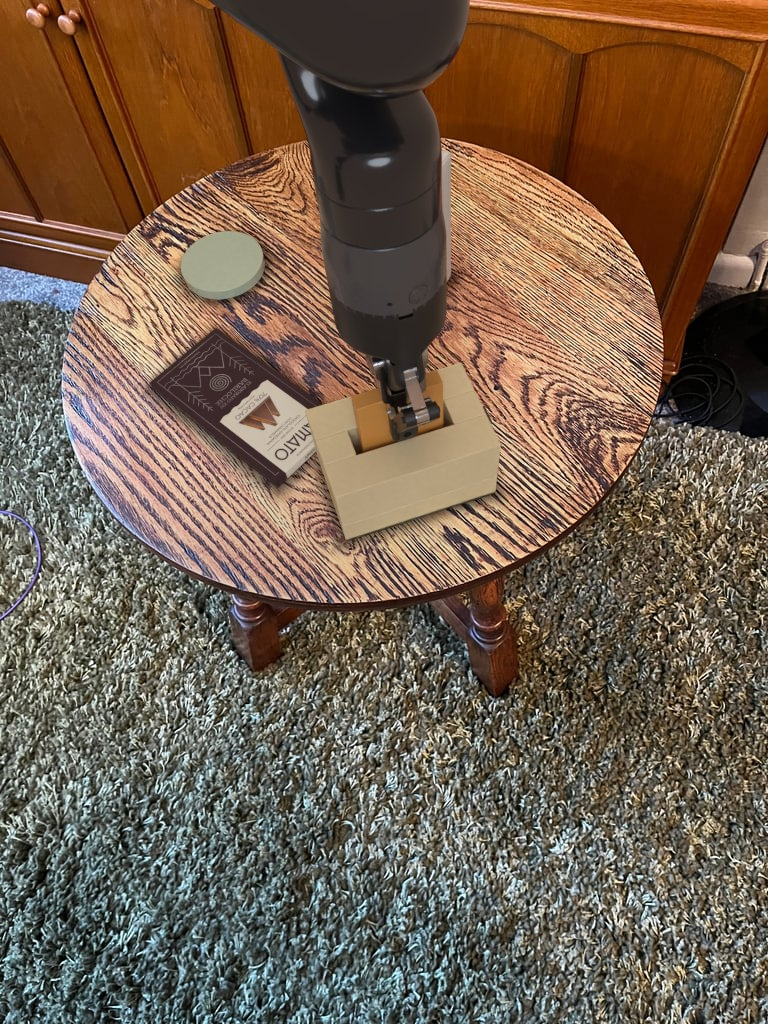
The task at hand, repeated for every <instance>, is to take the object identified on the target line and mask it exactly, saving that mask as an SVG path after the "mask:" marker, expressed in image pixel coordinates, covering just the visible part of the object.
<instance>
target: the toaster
mask: <svg viewBox="0 0 768 1024" xmlns="http://www.w3.org/2000/svg"><path fill="white" fill-rule="evenodd" d="M435 370H437V371H438V373H439V375H440V377H441V379H442V382H443V428H441V429H438V430H435V431H432V432H429V433H426V434H422V435H419V436H416V437H413V438H410V439H407V440H403V441H400V442H397V443H394V444H391V445H387V446H384V447H381V448H378V449H375V450H372V451H368V452H365V453H362V454H361V448H360V443H359V437H358V432H357V426H356V421H355V415H354V410H353V404H352V399H351V396H352V395H350V396H347V397H343V398H340V399H337V400H334V401H331V402H327V403H325V404H323V405H321V406H317V407H314V408H311V409H308V410H305V413H306V416H307V420H308V424H309V427H310V431H311V435H312V438H313V442H314V445H315V449H316V452H315V453H316V457H317V460H318V463H319V466H320V468H321V472H322V474H323V478H324V481H325V484H326V487H327V490H328V492H329V495H330V498H331V501H332V505H333V507H334V509H335V513H336V516H337V519H338V522H339V525H340V528H341V530H342V533H343V536H344V540H345V542H346V543H347V542H350V541H353V540H356V539H360V538H363V537H366V536H369V535H372V534H375V533H378V532H381V531H384V530H387V529H390V528H394V527H397V526H400V525H403V524H406V523H410V522H412V521H415V520H418V519H421V518H424V517H427V516H430V515H434V514H436V513H440V512H442V511H446V510H449V509H452V508H455V507H458V506H461V505H465V504H467V503H471V502H474V501H476V500H479V499H483V498H486V497H489V496H492V495H496V493H497V490H496V489H497V482H498V475H499V466H500V465H499V464H500V457H501V456H500V455H501V448H502V443H501V442H500V439H499V437H498V435H497V434H496V432H495V429H494V427H493V420H492V418H491V416H490V414H489V412H488V409H487V408H486V406H485V405H482V402H481V400H480V399H479V396H478V393H477V392H476V391H475V388H474V386H473V384H472V382H471V380H470V378H469V376H468V373H467V372H466V369H465V367H464V365H463V363H462V362H457V363H454V364H450V365H447V366H445V367H441V368H438V369H435ZM435 370H433V371H435ZM370 390H371V389H370ZM370 390H368V391H370ZM357 394H358V393H356V394H355V395H357Z"/></svg>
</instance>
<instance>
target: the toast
mask: <svg viewBox="0 0 768 1024" xmlns="http://www.w3.org/2000/svg"><path fill="white" fill-rule="evenodd" d="M437 370H438V369H435V371H434V370H431V371H428V372H426V390H425V392H423V393H422V394H423V398H427V397H431V398H432V402H433V401H436V403H437V405H439V407H440V411H441V412H440V418H439V419H437V420H435V421H433V422H431V423H429V424H426V425H420V426H418V433H417V434H416V436H419V435H422V434H426V433H429V432H432V431H435V430H438V429H441V428H443V382H442V379H441V377H440V375H439V373H438V371H437ZM356 394H357V395H356ZM356 394H354V395H350V396H351V399H352V404H353V410H354V415H355V421H356V426H357V432H358V437H359V443H360V448H361V454H362V453H365V452H368V451H372V450H375V449H378V448H381V447H384V446H387V445H391V444H394V443H397V442H400V441H399V440H393V439H392V436H391V434H390V428H389V420H388V415H387V413H386V409H387V407H386V404H384V403H383V402H382V399H381V397H380V394H379V392H378V389H377V387H376V388H373V389H370V391H369V390H367V391H363V392H359V393H356ZM416 436H414V437H416ZM411 438H413V437H411ZM408 439H410V438H408ZM404 440H407V439H404ZM401 441H403V440H401Z"/></svg>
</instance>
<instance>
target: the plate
mask: <svg viewBox="0 0 768 1024" xmlns="http://www.w3.org/2000/svg"><path fill="white" fill-rule="evenodd" d="M264 255H265V254H264V252H263V249H262V247H261V245H260V243H259V242H258V241H257V239H255V238H254V237H252V236H250V235H249V234H247V233H244V232H241V231H235V230H225V231H217V232H213V233H209V234H207V235H204V236H202V237H201V238H199V239H197V240H196V241H194V242H193V243H192V244H191V245H190V246H189V247H188V248H187V249H186V251H185V252H184V254H183V256H182V258H181V261H180V271H181V275H182V277H183V280H184V282H185V284H186V286H187V288H188V289H189V290H190V291H191V292H192V293H194V294H195V295H197V296H199V297H202V298H205V299H209V300H226V299H227V300H228V299H232V298H235V297H239V296H241V295H243V294H245V293H246V292H249V291H250V290H251V289H253V288H254V287H255V286H256V285H257V284H258V283H259V282H260V280H261V278H262V277H263V275H264V272H265V269H266V260H265V256H264Z"/></svg>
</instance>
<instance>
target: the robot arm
mask: <svg viewBox="0 0 768 1024" xmlns="http://www.w3.org/2000/svg"><path fill="white" fill-rule="evenodd" d="M207 1H208V2H209V3H211V4H212V5H214V6H215V7H217V9H219V10H221V11H222V12H223V13H224V14H226V15H227V16H229V17H230V18H231V19H232V20H233V21H235V22H237V23H238V24H239V25H240V26H242V27H243V28H245V29H246V30H248V31H249V32H250V33H252V34H253V35H255V36H256V37H258V38H259V39H260V40H262V41H264V43H267V44H268V46H270V47H272V48H273V49H275V50H276V52H277V54H278V58H279V61H280V65H281V67H282V70H283V73H284V76H285V80H286V83H287V86H288V89H289V92H290V93H291V97H292V100H293V102H294V105H295V108H296V110H297V113H298V116H299V119H300V121H301V124H302V127H303V131H304V134H305V137H306V140H307V144H308V145H307V146H308V149H309V158H310V159H309V160H310V167H311V174H312V179H313V185H314V191H315V197H316V201H317V207H318V213H319V223H320V248H321V255H322V261H323V266H324V272H325V277H326V283H327V287H328V294H329V299H330V304H331V308H332V309H331V310H332V315H333V319H334V325H335V328H336V330H337V333H338V334H339V336H340V338H341V339H342V340H343V341H344V343H346V344H347V346H349V347H350V348H351V349H352V350H355V352H358V353H360V354H362V355H364V356H365V362H366V365H367V367H368V370H369V373H370V375H371V376H373V377H374V379H373V383H374V386H375V387H376V388H377V389H378V392H379V394H380V397H381V399H382V402H383V403H384V404H386V407H387V409H386V413H387V415H388V420H389V428H390V434H391V436H392V439H393V440H399V441H401V440H404V439H408V438H411V437H414V436H416V434H417V433H418V426H420V425H426V424H429V423H431V422H433V421H435V420H437V419H439V418H440V412H441V411H440V407H439V405H437V403H436V401H433V402H432V398H431V397H427V398H423V394H422V393H423V392H425V390H426V373H427V372H426V370H427V369H426V367H427V366H428V365H429V350H428V348H429V346H430V345H431V344H432V343H433V342H434V341H435V340H436V338H437V337H438V336H439V335H440V333H441V332H442V330H443V328H444V325H445V323H446V319H447V314H448V313H447V311H448V309H447V308H448V307H447V305H448V303H447V302H448V301H447V300H448V299H447V298H448V297H447V295H448V292H447V291H448V290H447V289H448V287H447V284H448V281H447V237H446V227H445V220H444V215H443V207H442V150H443V149H442V137H441V130H440V124H439V120H438V118H437V116H436V114H435V111H434V109H433V107H432V106H431V103H430V101H429V100H428V98H427V97H426V95H425V93H424V92H423V90H425V88H427V87H428V86H430V85H431V84H433V83H434V82H435V81H436V80H438V79H439V78H440V77H441V76H443V74H444V73H445V72H446V71H447V69H448V68H449V67H450V65H451V64H452V62H453V61H454V60H455V58H456V56H457V54H458V52H459V51H460V49H461V46H462V44H463V41H464V38H465V35H466V32H467V31H466V30H467V29H468V28H467V27H468V23H469V17H470V6H471V0H207Z"/></svg>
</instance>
